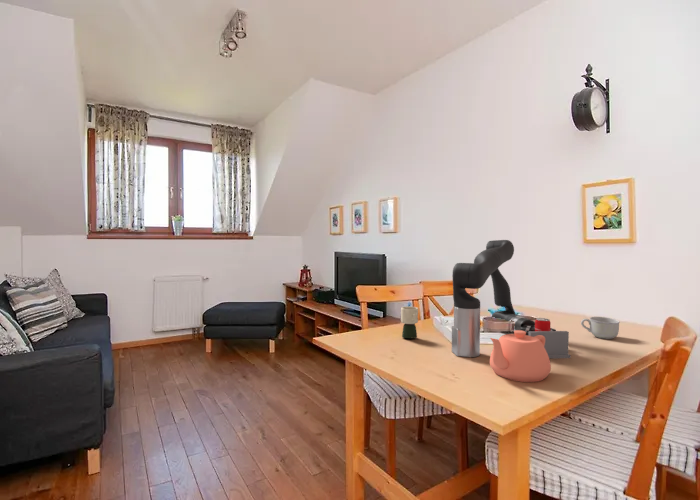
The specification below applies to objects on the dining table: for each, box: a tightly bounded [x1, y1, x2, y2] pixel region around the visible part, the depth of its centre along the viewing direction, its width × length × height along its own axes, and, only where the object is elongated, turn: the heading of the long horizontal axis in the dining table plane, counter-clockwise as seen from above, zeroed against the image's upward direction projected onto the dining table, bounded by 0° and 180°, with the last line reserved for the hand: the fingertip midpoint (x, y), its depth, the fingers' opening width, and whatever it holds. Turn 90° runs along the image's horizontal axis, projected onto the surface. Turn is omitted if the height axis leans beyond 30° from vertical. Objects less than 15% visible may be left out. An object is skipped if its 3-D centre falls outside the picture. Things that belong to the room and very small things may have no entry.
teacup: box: [580, 316, 621, 340], centre depth 163 cm, size 14×11×8 cm
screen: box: [528, 330, 571, 359], centre depth 135 cm, size 14×4×9 cm, turn 94°
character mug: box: [400, 306, 419, 340], centre depth 160 cm, size 11×7×13 cm, turn 14°
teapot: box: [489, 330, 552, 383], centre depth 117 cm, size 25×17×13 cm
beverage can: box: [534, 317, 552, 331], centre depth 142 cm, size 5×5×12 cm
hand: (545, 336), depth 140 cm, fingers open, 8 cm apart
